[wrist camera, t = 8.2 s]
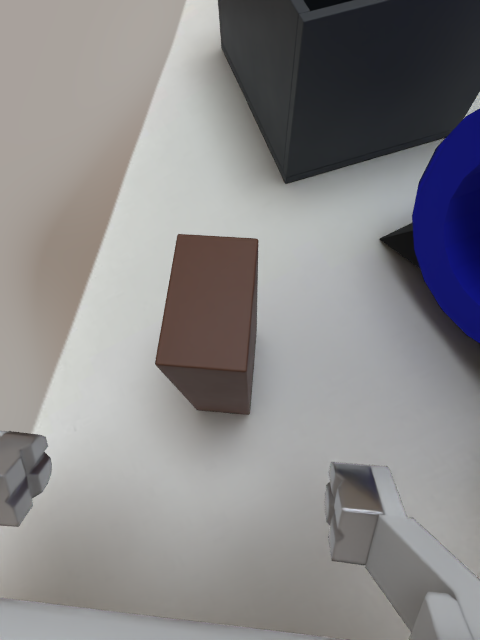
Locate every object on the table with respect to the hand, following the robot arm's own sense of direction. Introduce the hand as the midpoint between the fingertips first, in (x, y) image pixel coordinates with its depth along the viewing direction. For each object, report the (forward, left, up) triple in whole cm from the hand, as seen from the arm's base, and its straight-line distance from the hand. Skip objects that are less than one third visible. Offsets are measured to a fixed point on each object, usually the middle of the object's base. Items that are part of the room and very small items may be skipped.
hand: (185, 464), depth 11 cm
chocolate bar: (+5, -2, -10) cm, 12 cm away
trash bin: (+24, -17, -10) cm, 31 cm away
